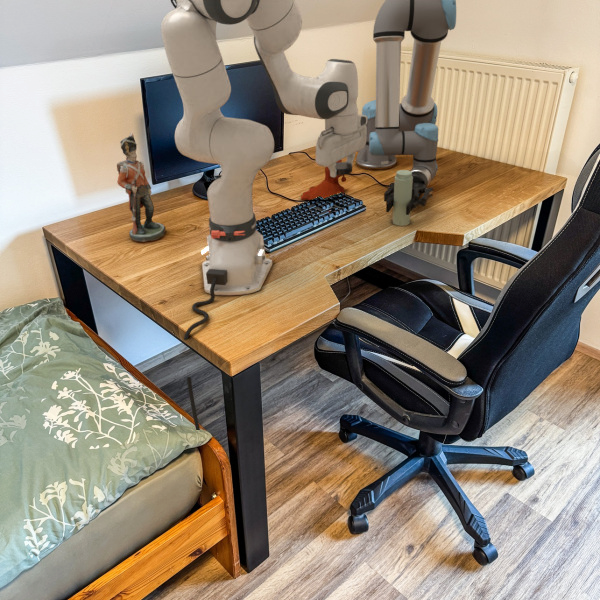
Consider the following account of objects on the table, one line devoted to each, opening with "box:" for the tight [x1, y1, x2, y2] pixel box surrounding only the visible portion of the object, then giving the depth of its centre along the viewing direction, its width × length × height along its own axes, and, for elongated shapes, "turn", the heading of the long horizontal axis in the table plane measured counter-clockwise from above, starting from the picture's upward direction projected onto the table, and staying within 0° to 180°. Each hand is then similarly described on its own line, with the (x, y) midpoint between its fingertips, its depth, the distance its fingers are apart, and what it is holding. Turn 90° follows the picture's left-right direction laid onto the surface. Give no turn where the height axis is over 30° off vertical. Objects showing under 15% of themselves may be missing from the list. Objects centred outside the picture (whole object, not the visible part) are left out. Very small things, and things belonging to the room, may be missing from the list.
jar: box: [392, 169, 413, 227], centre depth 166 cm, size 5×5×16 cm
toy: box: [300, 159, 347, 201], centre depth 188 cm, size 13×18×15 cm
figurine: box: [116, 132, 166, 243], centre depth 161 cm, size 11×11×30 cm
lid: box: [335, 161, 353, 176], centre depth 158 cm, size 6×6×2 cm
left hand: (341, 172), depth 159 cm, fingers closed on lid, 6 cm apart
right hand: (397, 209), depth 163 cm, fingers closed on jar, 5 cm apart
